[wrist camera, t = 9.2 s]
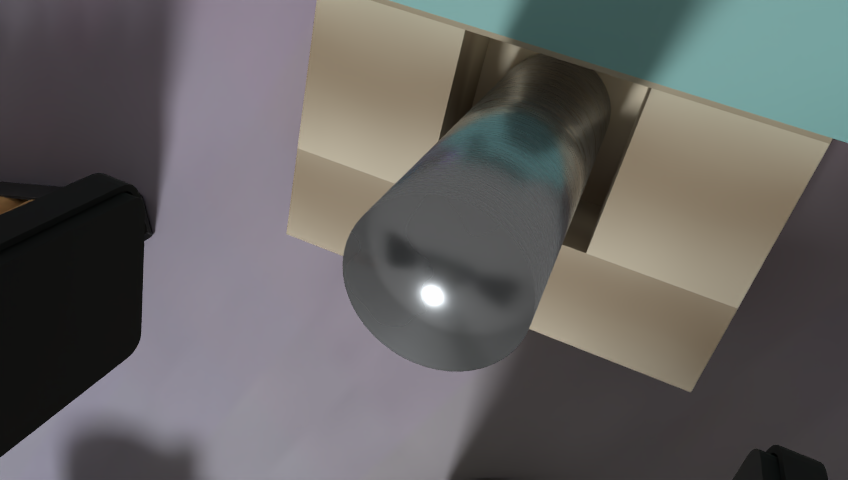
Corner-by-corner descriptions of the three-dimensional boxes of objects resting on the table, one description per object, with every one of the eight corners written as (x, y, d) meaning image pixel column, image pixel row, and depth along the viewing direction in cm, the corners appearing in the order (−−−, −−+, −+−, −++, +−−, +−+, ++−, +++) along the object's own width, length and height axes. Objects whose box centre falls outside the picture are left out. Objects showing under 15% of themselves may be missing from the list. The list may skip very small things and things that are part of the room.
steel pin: (587, 180, 20) (502, 399, 12) (482, 144, 21) (329, 327, 12) (628, 73, 18) (563, 237, 10) (512, 37, 19) (359, 164, 11)
